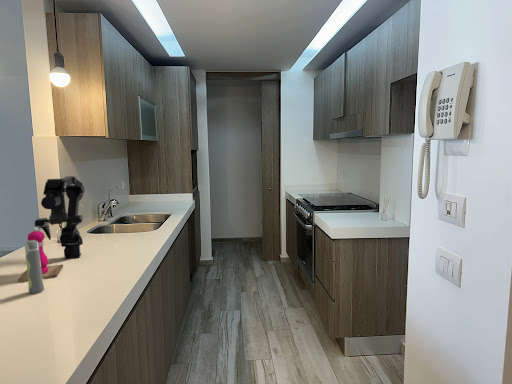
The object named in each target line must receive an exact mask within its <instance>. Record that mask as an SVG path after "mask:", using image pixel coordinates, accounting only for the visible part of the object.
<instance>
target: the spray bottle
mask: <svg viewBox="0 0 512 384" xmlns="http://www.w3.org/2000/svg"><path fill="white" fill-rule="evenodd" d="M24 249H25V251H24V252H25V260H26V270H27V276H28V281H27V282H28V293H29V294H32V295H35V294H39V293H41V292H44V290H45V285H44V282H43V281H44V279H43V278H42V269H41V262H40V252H39V247H38V242H37V241H36V240H31V241H28V240H27V241H26V242H25V243H24Z"/></svg>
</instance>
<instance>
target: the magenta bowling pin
mask: <svg viewBox="0 0 512 384" xmlns="http://www.w3.org/2000/svg"><path fill="white" fill-rule="evenodd" d="M38 229H39V228H38V227H33V228H32V231H31V232H29V234H28V235H27V241H31V240H36V241H37V242H38V247H39V252H40V262H41V269H42V274H45V273H47V272H48V267H46V266H49V261H50V260H49V258H48V256H47V255H46V253H45V252H44V245H45V241H44V239H45V234H44V232H43V231H39V230H38Z"/></svg>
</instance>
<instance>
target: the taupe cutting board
mask: <svg viewBox="0 0 512 384" xmlns="http://www.w3.org/2000/svg"><path fill="white" fill-rule="evenodd" d="M46 267H48V272H47V273H45V274H42V278H43V280H48V279H53V278H57V277H58V276H59V275H60V273H61V271H62V270H63V268H64V264H54V265H47V266H46ZM23 282H25V283H26V282H28V276H27V269H26V270H25V271H24V272H23V273H22V274H21V275H20V276H19V277H18V278H17V283H23Z"/></svg>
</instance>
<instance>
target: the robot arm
mask: <svg viewBox="0 0 512 384" xmlns="http://www.w3.org/2000/svg"><path fill="white" fill-rule="evenodd" d="M84 194H85V187H84V184H83V183H82V181H80V180H78V179H77V178H76V176H74V175H73V176H72V175H71V176H63V178H48V179H46V181H45V184H44V190H43V196H44V197H42V199H41V202H40V204H41V206H42V208H44V209H46V210H50V214H49V217H40V218H36V220H35V221H34V227H38V229H42V231H44V232H43V233H45V235H46V236H47V238H48V240H49V241H51V239H52V238H51V237H52V236H51V230H50V225H51V226H53V225H62V224H63V223H66V225H65V226H64V227H62V228H61V230H60V231H61V232H60V235H59V241H60V246H61V247H62V248H64V249H63V254H64V260H69V259H79V258H81V255H82V252H81V245H83V244H84V243H83V237H82V236H81V234H80V231H79V229H78V228H77V226H78V225H79V224H81V223H82V222H83V221H84V219H83V218H84V217H83V215H81V214H79V207H80V206H79V204H80V201H81V200H82V199H83V197H84ZM65 195H66V197H67V199H68V204H67V205H68V206H67V209H66V200H65V199H66V198H65Z"/></svg>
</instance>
